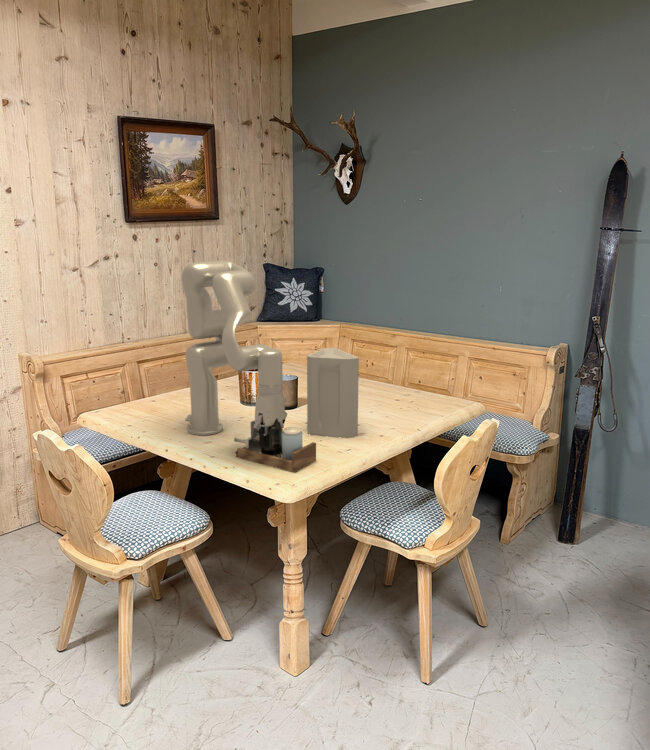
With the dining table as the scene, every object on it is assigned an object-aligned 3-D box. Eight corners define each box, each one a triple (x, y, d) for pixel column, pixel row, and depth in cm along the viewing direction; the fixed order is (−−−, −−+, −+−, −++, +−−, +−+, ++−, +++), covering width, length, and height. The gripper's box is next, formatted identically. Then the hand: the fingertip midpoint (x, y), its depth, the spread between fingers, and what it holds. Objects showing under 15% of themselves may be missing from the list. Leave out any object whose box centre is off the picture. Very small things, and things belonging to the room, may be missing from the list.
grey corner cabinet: (297, 426, 242) (297, 351, 235) (334, 420, 248) (334, 347, 241) (319, 442, 225) (320, 362, 218) (358, 436, 231) (359, 357, 225)
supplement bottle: (282, 448, 214) (282, 413, 211) (282, 456, 207) (281, 420, 204) (261, 448, 214) (260, 413, 211) (259, 456, 207) (259, 420, 204)
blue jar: (277, 464, 206) (277, 430, 203) (290, 458, 211) (289, 425, 208) (294, 468, 202) (294, 434, 200) (306, 462, 208) (306, 428, 205)
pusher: (226, 452, 215) (225, 419, 213) (243, 444, 222) (242, 413, 220) (248, 457, 211) (248, 424, 208) (265, 450, 217) (264, 417, 215)
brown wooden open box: (235, 457, 212) (235, 439, 210) (258, 446, 221) (257, 429, 219) (295, 472, 199) (294, 453, 198) (316, 460, 209) (316, 442, 207)
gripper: (277, 381, 214) (278, 433, 219) (242, 393, 200) (244, 449, 205) (296, 384, 211) (296, 437, 215) (262, 397, 196) (263, 454, 201)
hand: (271, 442), depth 210 cm, fingers closed on supplement bottle, 6 cm apart
